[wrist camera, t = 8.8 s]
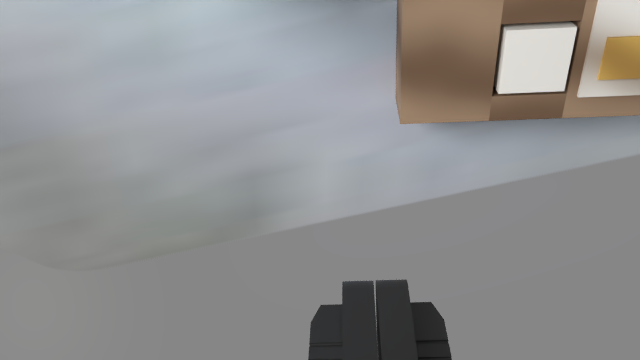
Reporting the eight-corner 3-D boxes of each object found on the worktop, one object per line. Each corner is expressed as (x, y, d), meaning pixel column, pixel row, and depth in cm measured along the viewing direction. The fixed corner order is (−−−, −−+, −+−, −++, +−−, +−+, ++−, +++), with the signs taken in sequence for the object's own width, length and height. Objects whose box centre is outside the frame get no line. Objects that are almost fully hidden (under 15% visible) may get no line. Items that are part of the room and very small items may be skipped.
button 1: (498, 19, 33) (506, 30, 31) (565, 16, 33) (577, 27, 31) (491, 81, 35) (498, 93, 33) (553, 78, 35) (564, 91, 33)
